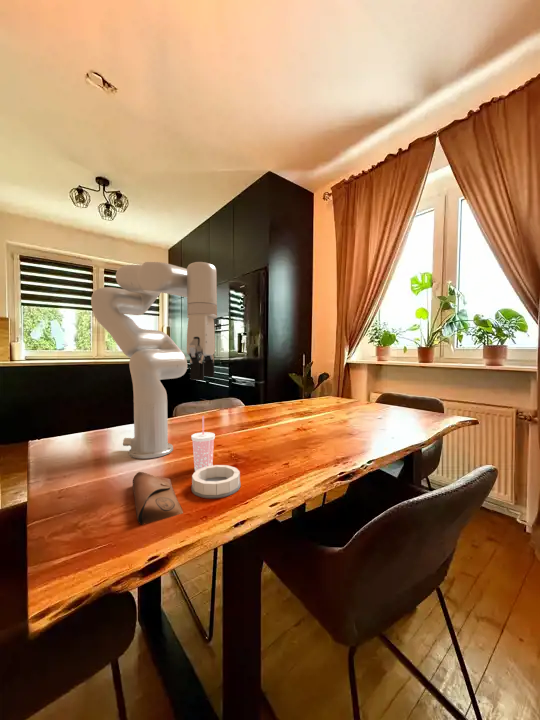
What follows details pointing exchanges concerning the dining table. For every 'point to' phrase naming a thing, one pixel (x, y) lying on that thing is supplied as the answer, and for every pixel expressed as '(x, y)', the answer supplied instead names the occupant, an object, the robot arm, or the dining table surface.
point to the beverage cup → (203, 448)
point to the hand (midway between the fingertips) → (203, 378)
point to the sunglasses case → (154, 498)
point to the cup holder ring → (216, 481)
